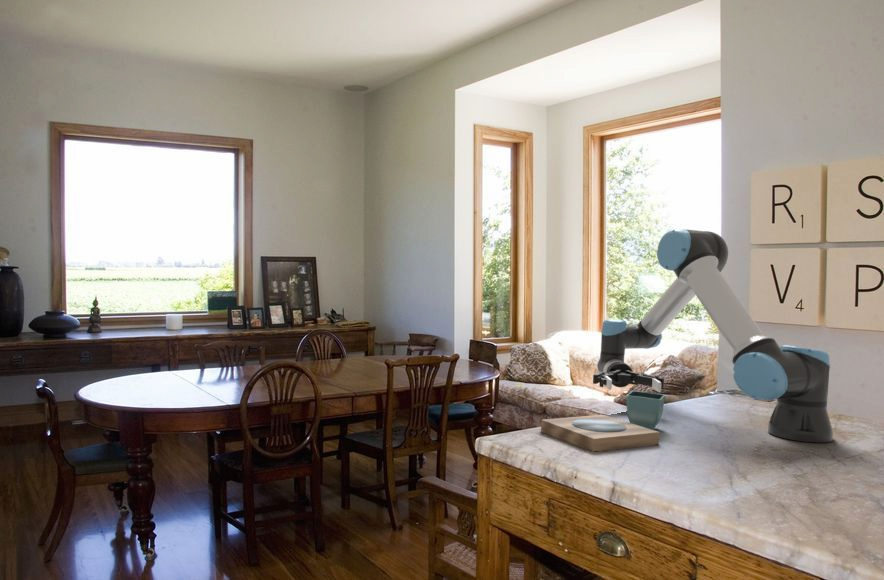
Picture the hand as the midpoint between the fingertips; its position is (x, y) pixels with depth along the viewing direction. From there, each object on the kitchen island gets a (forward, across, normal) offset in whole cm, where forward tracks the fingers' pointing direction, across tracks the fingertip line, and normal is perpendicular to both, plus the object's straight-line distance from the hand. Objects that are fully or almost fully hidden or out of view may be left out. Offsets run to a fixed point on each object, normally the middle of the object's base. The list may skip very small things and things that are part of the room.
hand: (635, 386), depth 192 cm
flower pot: (+10, 0, -10) cm, 14 cm away
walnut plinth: (+23, +14, -9) cm, 29 cm away
